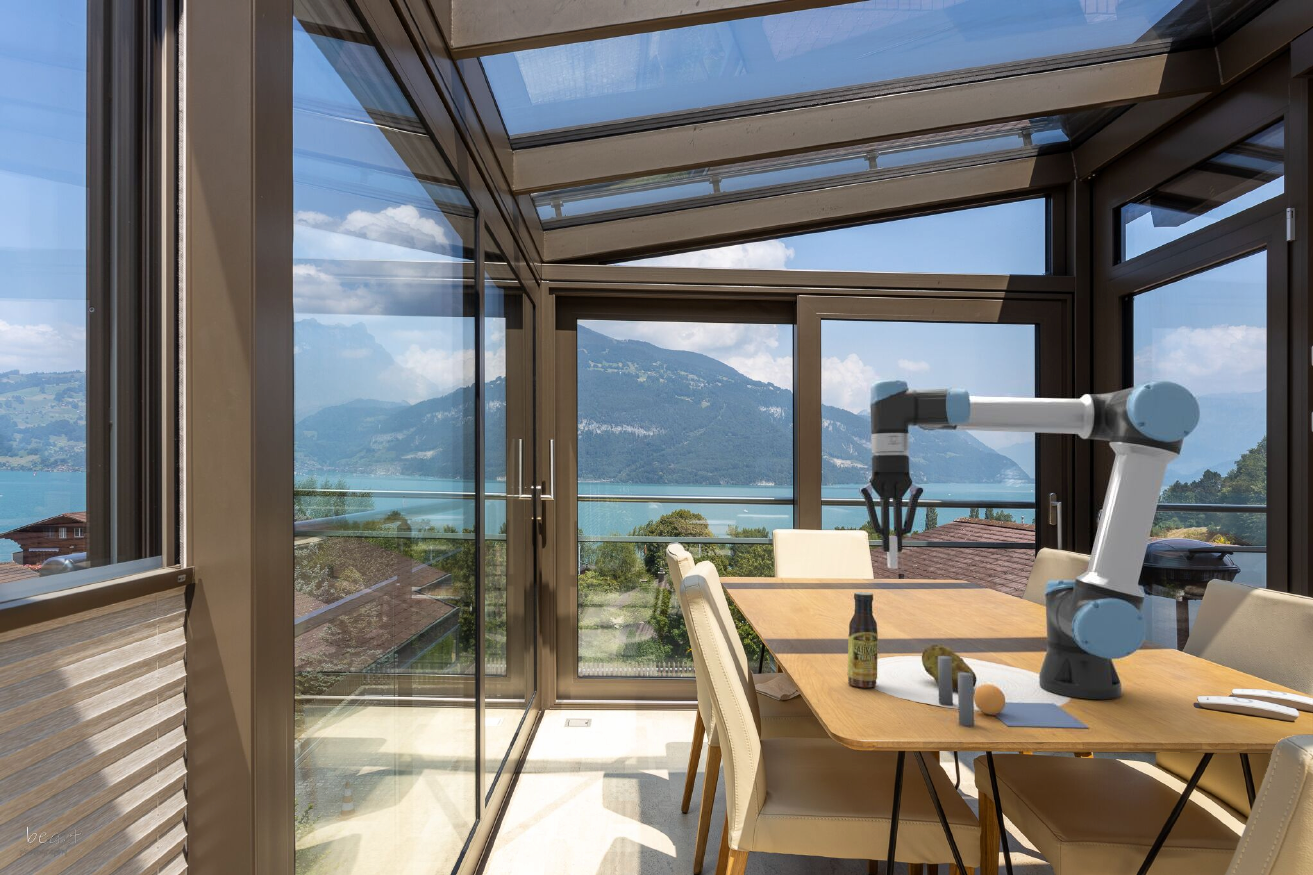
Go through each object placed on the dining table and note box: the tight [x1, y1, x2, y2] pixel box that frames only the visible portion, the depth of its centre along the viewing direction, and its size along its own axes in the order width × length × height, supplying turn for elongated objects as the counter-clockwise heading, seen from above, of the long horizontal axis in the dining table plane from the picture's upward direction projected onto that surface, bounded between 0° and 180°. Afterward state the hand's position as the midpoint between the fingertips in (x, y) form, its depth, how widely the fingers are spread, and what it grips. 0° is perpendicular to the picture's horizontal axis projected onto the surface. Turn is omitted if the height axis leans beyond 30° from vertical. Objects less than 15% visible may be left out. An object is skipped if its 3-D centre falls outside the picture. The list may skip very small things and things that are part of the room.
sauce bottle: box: [847, 591, 879, 689], centre depth 160 cm, size 6×6×20 cm
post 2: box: [957, 672, 975, 728], centre depth 135 cm, size 3×3×9 cm
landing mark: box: [994, 701, 1089, 729], centre depth 140 cm, size 14×14×1 cm
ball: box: [973, 683, 1006, 716], centre depth 140 cm, size 6×6×6 cm
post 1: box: [937, 656, 954, 706], centre depth 147 cm, size 3×3×9 cm
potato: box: [921, 644, 977, 691], centre depth 159 cm, size 8×13×8 cm, turn 3°
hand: (892, 567), depth 153 cm, fingers closed
